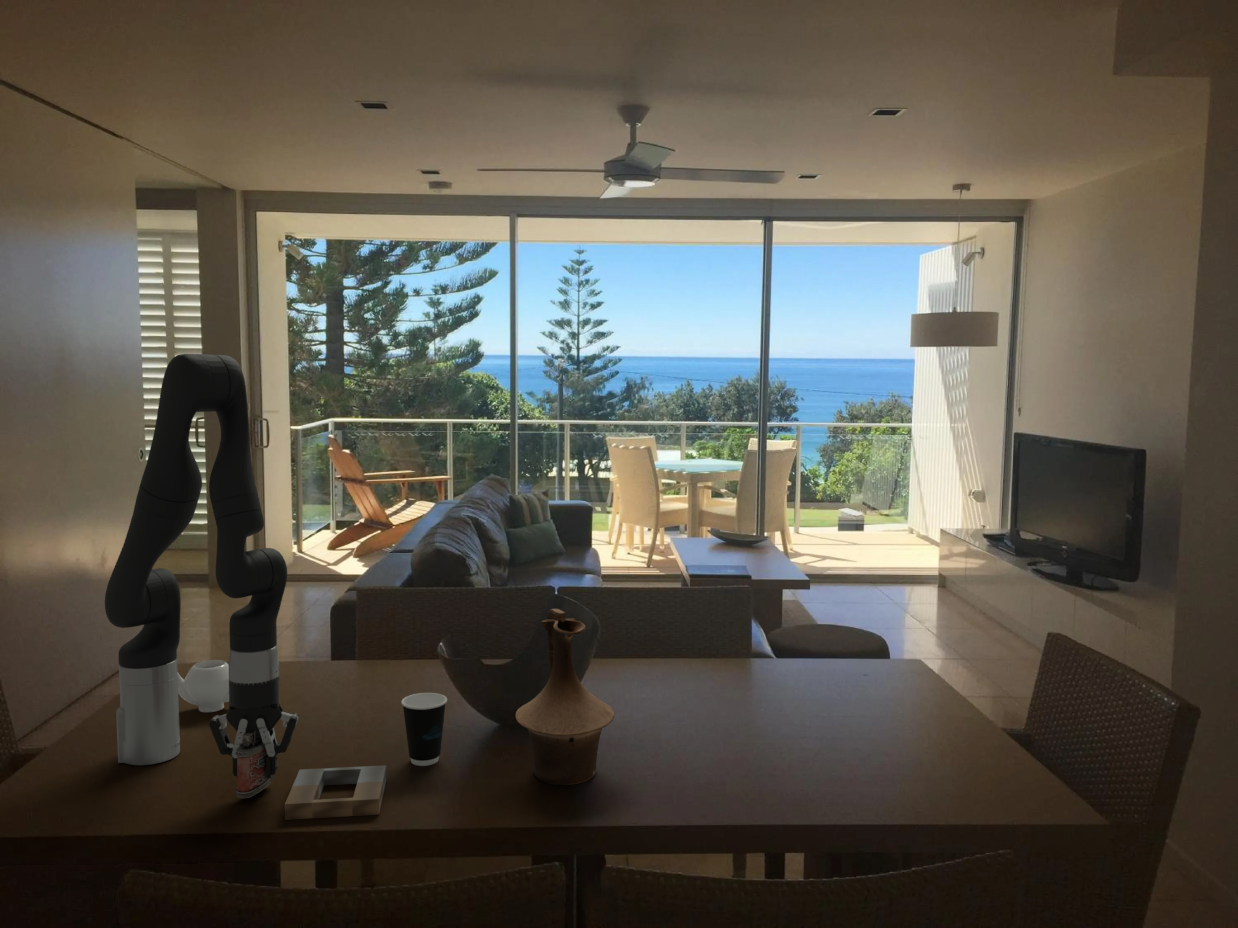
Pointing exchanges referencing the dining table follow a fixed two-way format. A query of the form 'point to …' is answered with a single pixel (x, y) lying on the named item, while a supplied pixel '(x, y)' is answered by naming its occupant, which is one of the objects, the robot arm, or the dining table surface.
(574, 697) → the pitcher
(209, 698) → the teapot
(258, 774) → the lighter
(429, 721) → the dixie cup
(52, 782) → the dining table surface
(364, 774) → the tan flat square frame
